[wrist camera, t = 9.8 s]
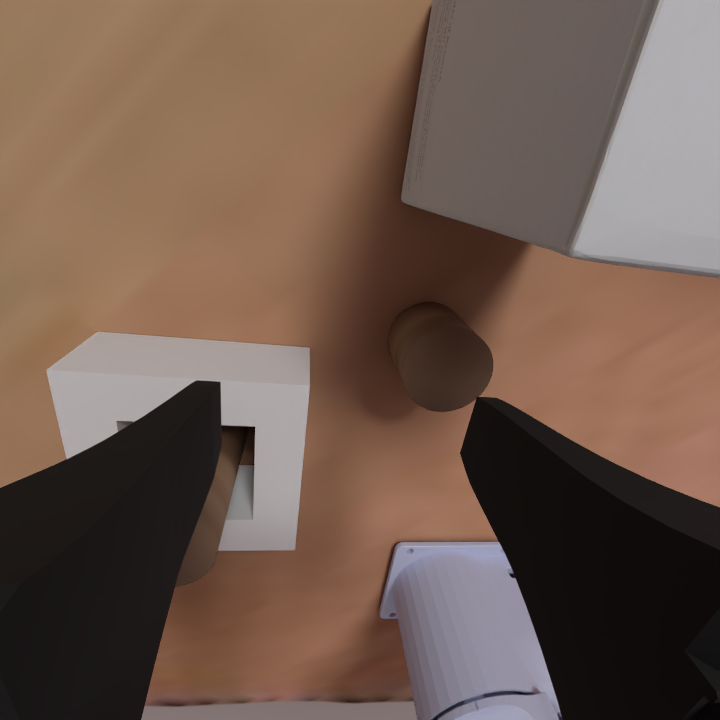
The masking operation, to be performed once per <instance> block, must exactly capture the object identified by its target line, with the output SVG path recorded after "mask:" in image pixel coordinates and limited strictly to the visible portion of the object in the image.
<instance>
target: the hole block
mask: <svg viewBox="0 0 720 720" xmlns="http://www.w3.org/2000/svg"><path fill="white" fill-rule="evenodd" d="M46 371H47V376H48V380H49V384H50V389H51V393H52V397H53V402H54V406H55V410H56V415H57V419H58V424H59V428H60V432H61V437H62V441H63V445H64V450H65V454H66V458H67V459H68V458H70V457H72V456H74V455H76V454H78V453H80V452H82V451H84V450H86V449H88V448H90V447H92V446H94V445H96V444H98V443H100V442H101V441H103V440H105V439H107V438H109V437H110V436H112V435H114V434H115V433H117V432H118V431H120V430H122V429H123V428H125V427H127V426H128V425H130V424H132V423H133V422H135V421H137V420H138V419H140V418H141V417H143V416H145V415H146V414H148V413H149V412H151V411H152V410H154V409H155V408H156V407H158V406H159V405H161V404H162V403H164V402H165V401H167V400H168V399H170V398H171V397H173V396H174V395H175V394H177V393H178V392H180V391H181V390H182V389H184V388H185V387H187V386H188V385H190V384H191V383H193V382H194V381H196V380H200V381H217V382H221V425H229V426H253V427H255V459H254V465H239V468H238V472H237V476H236V480H235V484H234V488H233V492H232V496H231V500H230V504H229V508H228V512H227V516H226V520H225V524H224V528H223V532H222V536H221V540H220V544H219V548H218V551H253V550H295V544H296V533H297V522H298V511H299V500H300V489H301V478H302V467H303V456H304V445H305V433H306V422H307V411H308V400H309V389H310V348H308V347H295V346H281V345H268V344H255V343H241V342H228V341H215V340H201V339H188V338H175V337H162V336H148V335H135V334H122V333H108V332H96V333H95V334H94V335H92V336H91V337H90V338H88V339H87V340H86V341H84V342H83V343H82V344H80V345H79V346H78V347H76V348H75V349H74V350H72V351H71V352H70V353H68V354H67V355H66V356H64V357H63V358H62V359H60V360H59V361H58V362H56V363H55V364H54V365H52V366H51V367H50V368H48V369H47V370H46Z"/></svg>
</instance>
